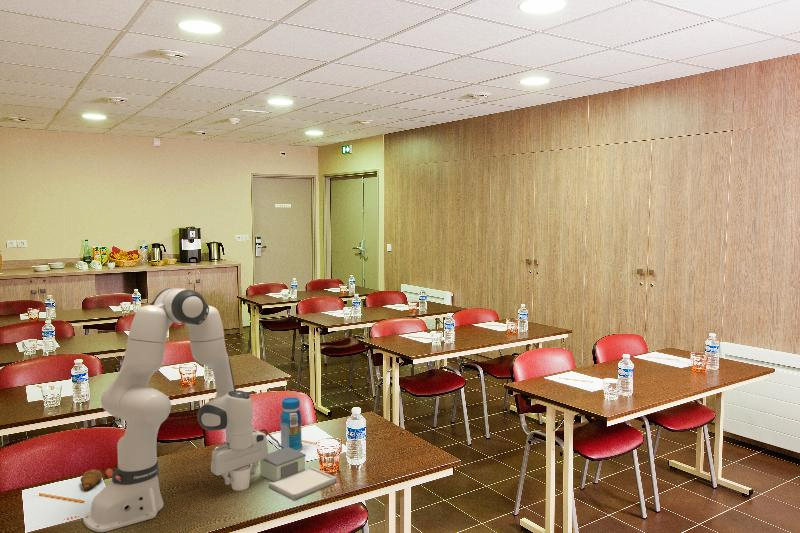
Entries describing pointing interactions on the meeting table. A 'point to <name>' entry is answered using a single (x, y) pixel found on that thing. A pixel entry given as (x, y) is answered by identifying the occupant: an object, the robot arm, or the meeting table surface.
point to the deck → (293, 474)
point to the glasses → (270, 436)
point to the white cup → (240, 478)
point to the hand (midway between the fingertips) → (240, 479)
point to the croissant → (90, 479)
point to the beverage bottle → (291, 424)
